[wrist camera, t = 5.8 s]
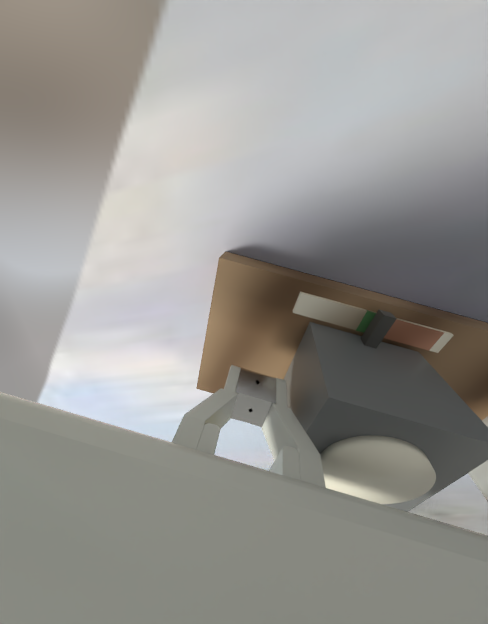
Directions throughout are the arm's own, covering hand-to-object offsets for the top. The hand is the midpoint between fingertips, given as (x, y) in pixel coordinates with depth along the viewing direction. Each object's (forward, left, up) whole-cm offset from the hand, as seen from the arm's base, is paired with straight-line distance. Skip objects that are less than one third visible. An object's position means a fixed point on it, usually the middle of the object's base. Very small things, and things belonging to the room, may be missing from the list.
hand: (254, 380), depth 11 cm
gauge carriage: (-6, -1, -2) cm, 7 cm away
